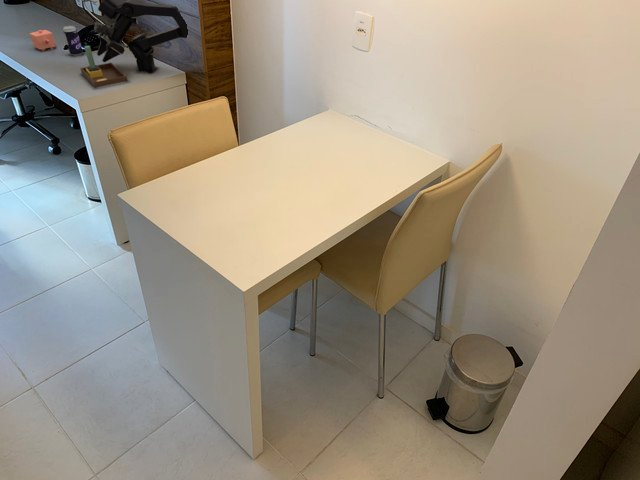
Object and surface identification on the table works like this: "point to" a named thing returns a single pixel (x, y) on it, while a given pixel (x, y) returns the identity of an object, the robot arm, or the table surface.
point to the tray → (106, 75)
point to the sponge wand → (92, 64)
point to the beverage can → (72, 40)
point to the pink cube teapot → (43, 39)
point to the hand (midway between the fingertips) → (100, 58)
